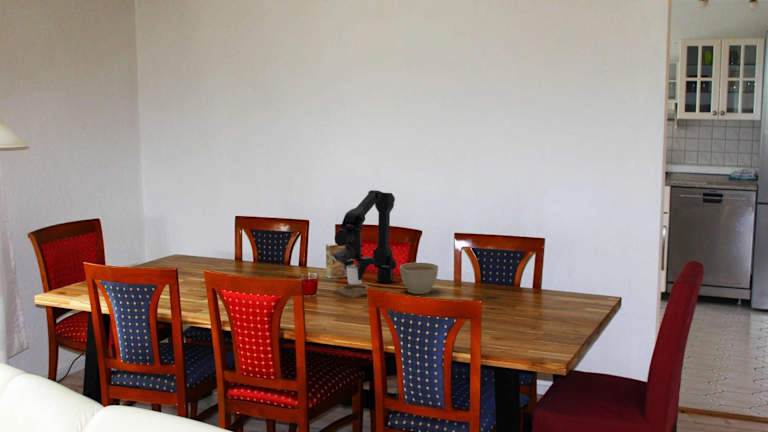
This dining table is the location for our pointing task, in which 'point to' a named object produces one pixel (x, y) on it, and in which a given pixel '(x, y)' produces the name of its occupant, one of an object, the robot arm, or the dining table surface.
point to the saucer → (352, 290)
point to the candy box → (334, 262)
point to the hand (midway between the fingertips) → (354, 279)
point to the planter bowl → (419, 277)
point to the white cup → (352, 274)
